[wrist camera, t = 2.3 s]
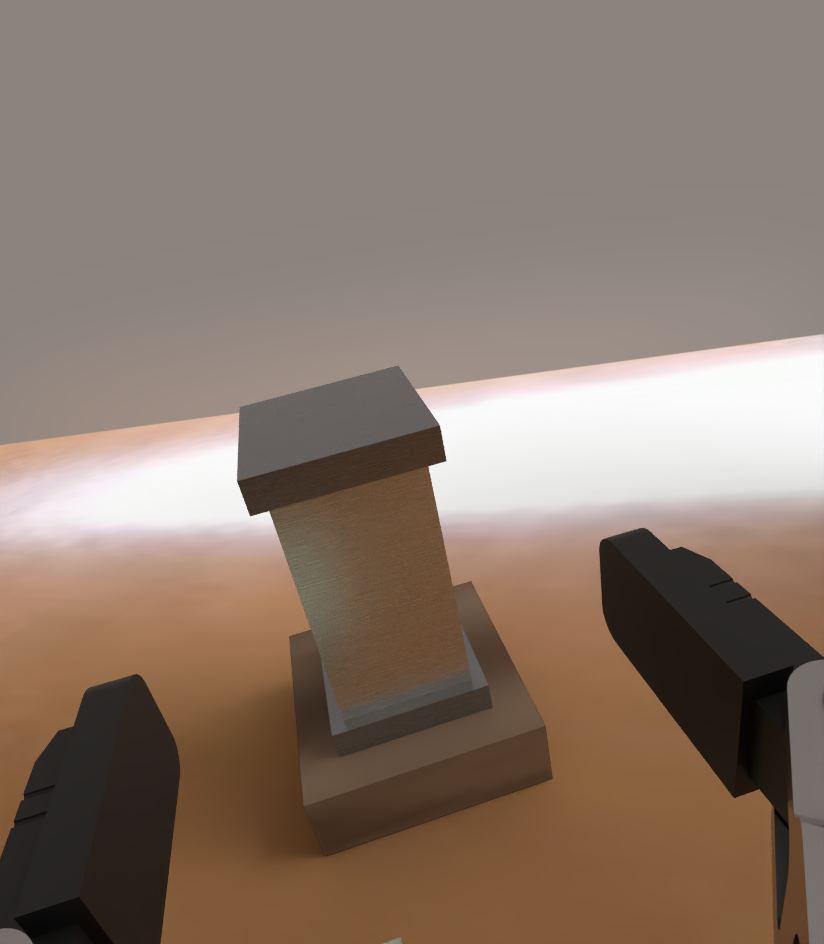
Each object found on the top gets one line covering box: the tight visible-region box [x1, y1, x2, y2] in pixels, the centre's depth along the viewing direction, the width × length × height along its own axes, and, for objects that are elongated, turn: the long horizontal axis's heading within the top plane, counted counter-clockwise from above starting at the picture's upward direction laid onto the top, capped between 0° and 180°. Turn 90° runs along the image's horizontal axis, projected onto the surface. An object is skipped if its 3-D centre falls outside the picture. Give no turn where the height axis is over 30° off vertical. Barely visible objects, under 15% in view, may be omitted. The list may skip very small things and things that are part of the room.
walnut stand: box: [289, 581, 552, 856], centre depth 28 cm, size 9×9×3 cm
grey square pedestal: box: [237, 366, 493, 757], centre depth 24 cm, size 6×6×12 cm
